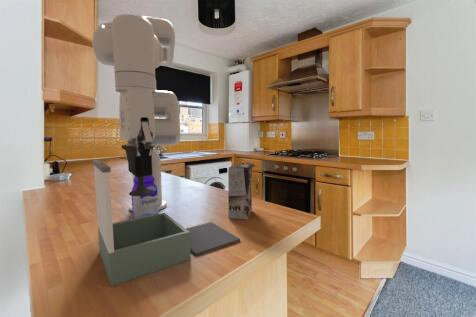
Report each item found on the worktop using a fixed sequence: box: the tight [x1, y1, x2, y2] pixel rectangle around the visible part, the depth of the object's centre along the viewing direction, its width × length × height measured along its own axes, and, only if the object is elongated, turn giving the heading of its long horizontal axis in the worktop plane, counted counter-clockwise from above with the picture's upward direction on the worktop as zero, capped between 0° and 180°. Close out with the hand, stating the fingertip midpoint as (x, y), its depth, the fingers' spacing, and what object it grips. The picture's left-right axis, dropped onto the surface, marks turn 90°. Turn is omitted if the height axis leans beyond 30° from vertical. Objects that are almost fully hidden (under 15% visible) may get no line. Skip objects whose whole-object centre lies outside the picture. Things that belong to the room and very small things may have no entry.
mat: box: [185, 221, 241, 257], centre depth 61 cm, size 14×12×1 cm
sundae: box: [121, 138, 156, 197], centre depth 50 cm, size 7×7×15 cm
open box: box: [91, 159, 192, 287], centre depth 51 cm, size 15×15×21 cm
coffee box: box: [227, 163, 253, 220], centre depth 77 cm, size 9×6×16 cm
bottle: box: [130, 175, 160, 219], centre depth 70 cm, size 7×6×17 cm
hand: (140, 172), depth 50 cm, fingers closed on sundae, 4 cm apart
